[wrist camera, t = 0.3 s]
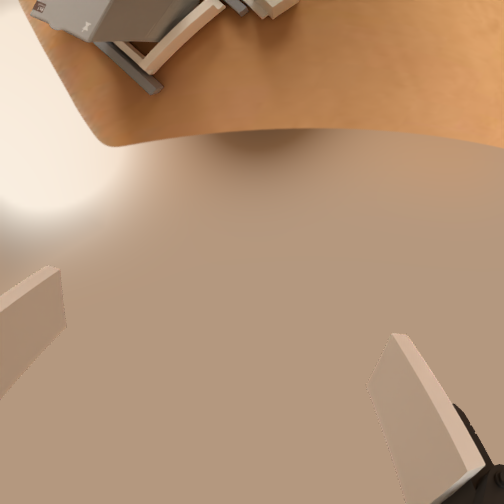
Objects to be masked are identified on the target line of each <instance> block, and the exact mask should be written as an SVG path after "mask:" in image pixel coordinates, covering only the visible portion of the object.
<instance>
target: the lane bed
mask: <svg viewBox="0 0 504 504" xmlns="http://www.w3.org/2000/svg"><path fill="white" fill-rule="evenodd" d="M223 1H224V2H226V3H227V4H228V5H229V6H230V7H231V8H232V9H234V10H235V11H236V12H237V13H238V14H239V15H240V16H241V17H242V16H243V15H245V14H246V13H247V12H249V11H248V9H247V7H246V6H245V5H244V4H243V3H241V2H240V1H239V0H223ZM93 43H94V44H95V45H96V46H97V47H98V48H99V49H101V50H102V51H103V52H104V53H105V54H106V55H107V56H108V57H109V58H111V59H112V60H113V61H114V62H115V63H116V64H117V65H118V66H119V67H120V68H122V69H123V70H124V71H125V72H126V73H127V74H128V75H129V76H130V77H131V78H132V79H134V80H135V81H136V82H137V83H138V84H139V85H140V86H141V87H142V88H143V89H144V90H145V91H146V92H147V93H148V94H149V95H153V94H157V93H159V92H160V91H161V90H162V89H163V88H164V86H162V85H161V84H160V83H159V82H158V81H157V80H156V79H155V78H154V77H153V76H152V75H149V74H148V73H147V72H146V71H144V70H143V69H142V68H141V67H140V66H139V65H138V64H137V63H136V62H135V61H134V60H132V59H131V58H130V57H129V56H128V55H127V54H126V53H125V52H124V51H122V50H121V49H120V48H119V47H118V46H117V45H116V44H114V43H113V42H93Z"/></svg>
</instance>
